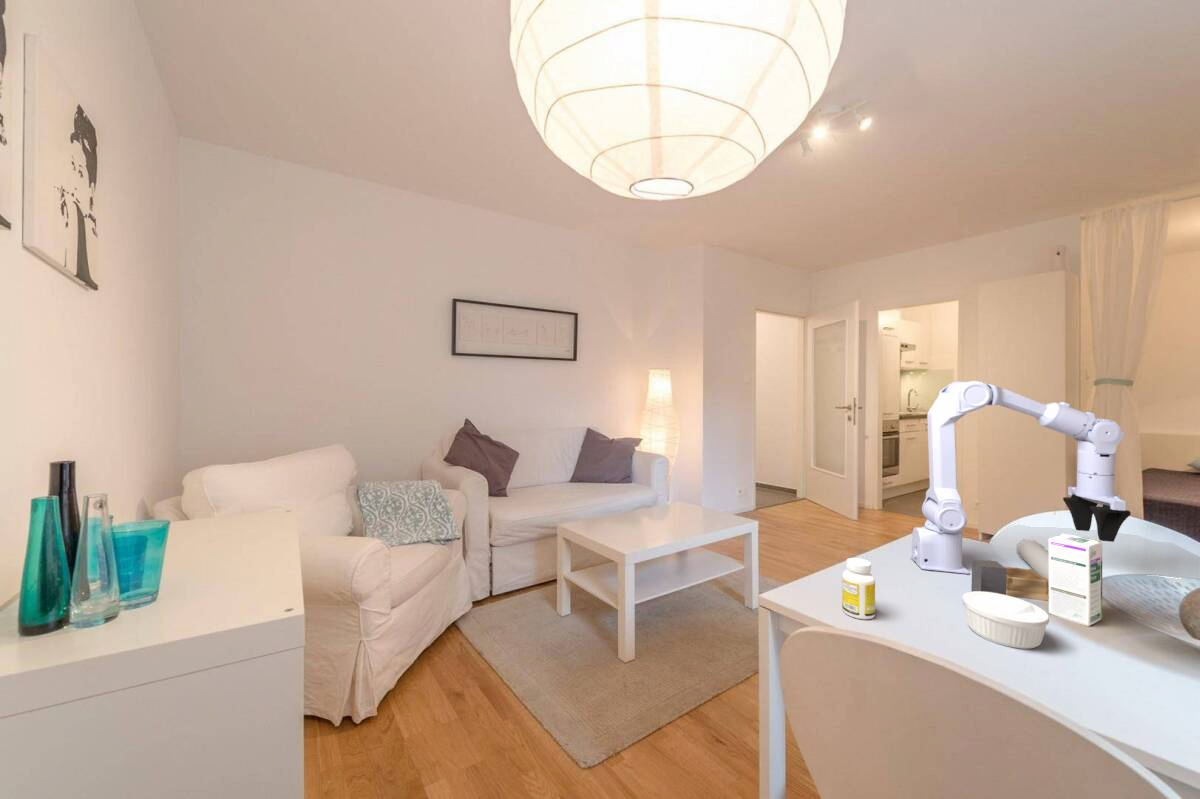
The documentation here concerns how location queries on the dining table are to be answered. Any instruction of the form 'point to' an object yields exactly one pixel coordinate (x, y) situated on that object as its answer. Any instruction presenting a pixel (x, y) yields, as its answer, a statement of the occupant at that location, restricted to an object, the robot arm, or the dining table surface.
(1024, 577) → the oak dock
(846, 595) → the supplement bottle
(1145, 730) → the dining table surface
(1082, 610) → the syrup box
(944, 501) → the robot arm
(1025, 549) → the tube
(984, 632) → the ramekin
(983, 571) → the matte charcoal brick
